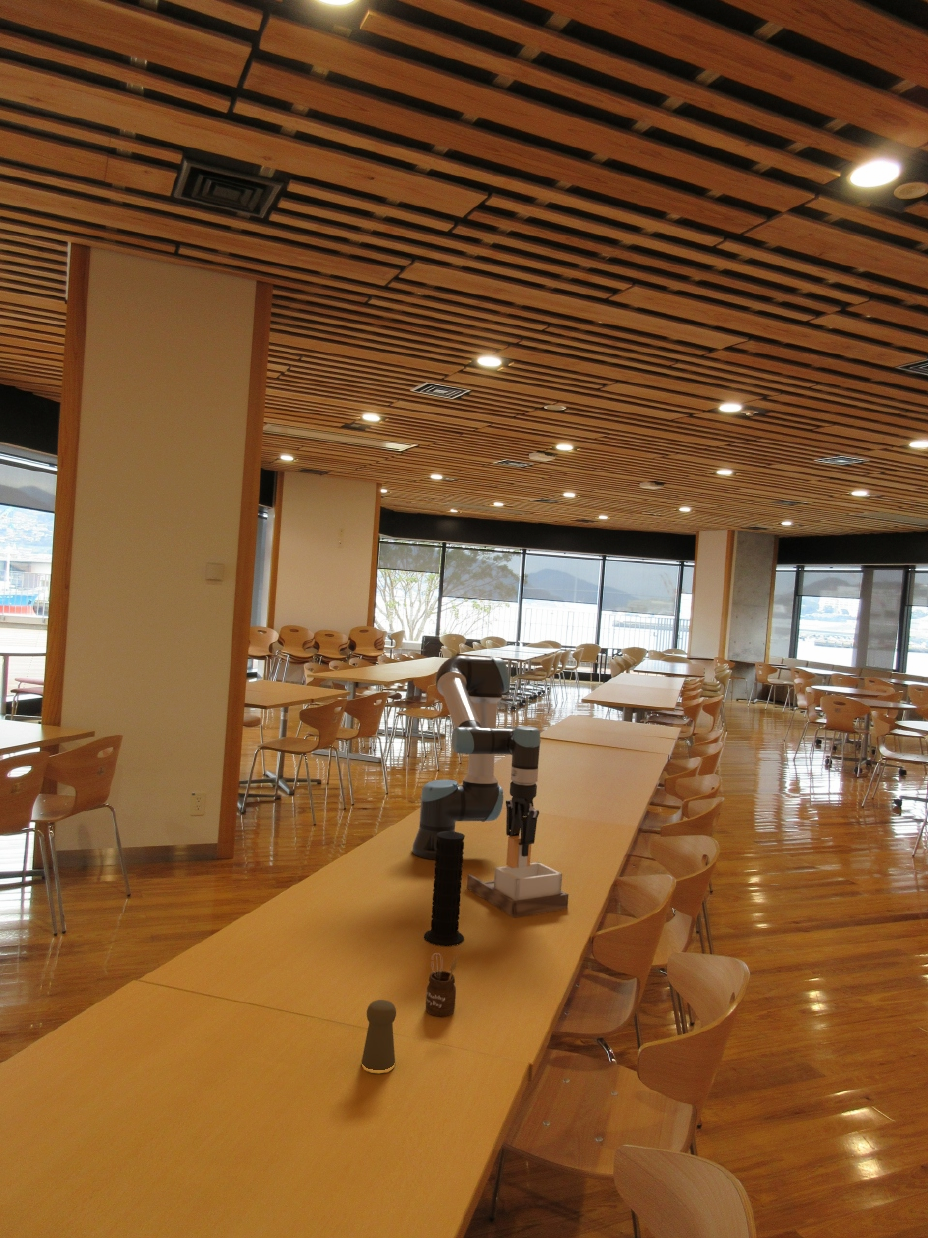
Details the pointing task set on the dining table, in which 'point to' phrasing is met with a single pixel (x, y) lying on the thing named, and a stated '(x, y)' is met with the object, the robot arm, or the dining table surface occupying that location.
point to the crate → (525, 876)
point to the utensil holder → (441, 991)
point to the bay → (516, 907)
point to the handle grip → (447, 890)
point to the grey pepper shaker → (379, 1036)
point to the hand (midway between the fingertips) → (518, 864)
